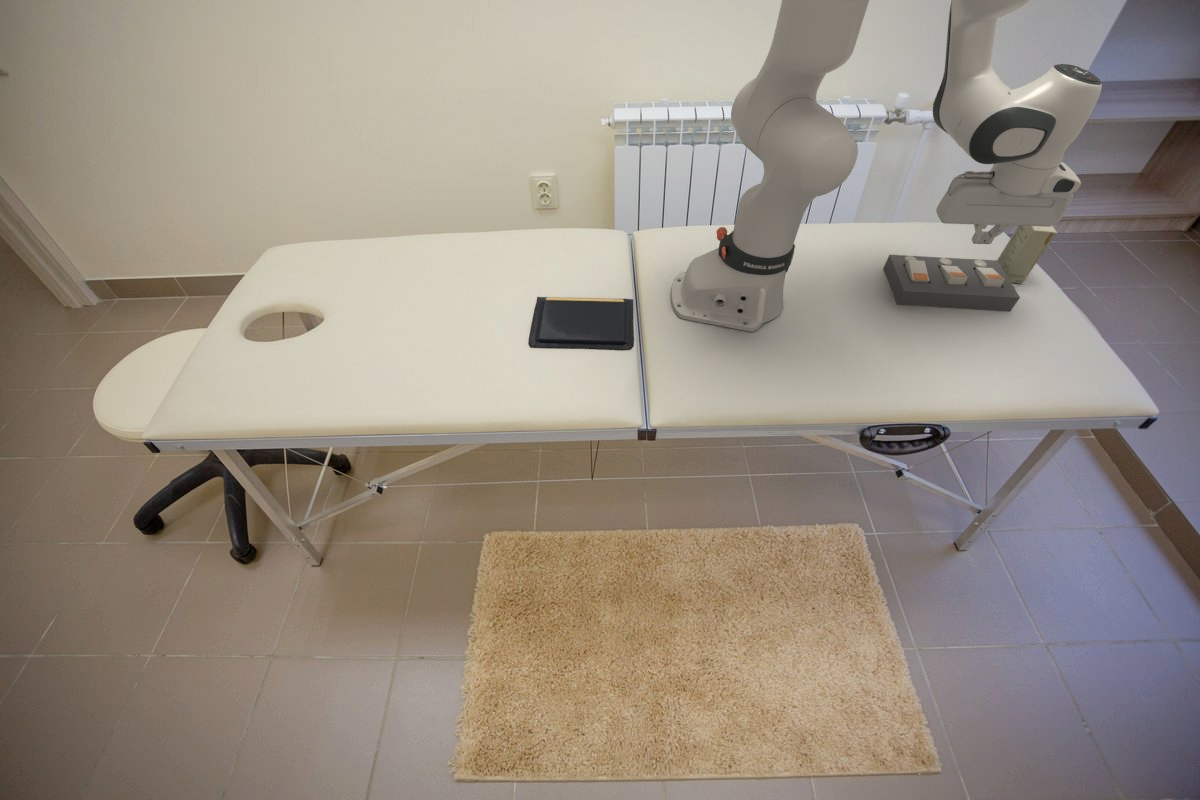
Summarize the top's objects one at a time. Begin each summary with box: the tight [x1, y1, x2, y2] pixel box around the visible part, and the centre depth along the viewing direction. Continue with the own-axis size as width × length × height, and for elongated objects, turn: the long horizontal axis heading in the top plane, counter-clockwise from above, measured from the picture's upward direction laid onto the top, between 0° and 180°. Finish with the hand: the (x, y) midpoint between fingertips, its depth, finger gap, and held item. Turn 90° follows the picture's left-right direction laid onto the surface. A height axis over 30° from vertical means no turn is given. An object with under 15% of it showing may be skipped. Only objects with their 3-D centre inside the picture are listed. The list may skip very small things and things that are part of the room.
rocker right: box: [975, 267, 1004, 287], centre depth 114 cm, size 3×5×2 cm, turn 175°
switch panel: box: [882, 254, 1021, 312], centre depth 116 cm, size 22×12×4 cm, turn 85°
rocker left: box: [905, 260, 929, 283], centre depth 115 cm, size 3×5×2 cm, turn 175°
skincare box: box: [997, 225, 1058, 284], centre depth 116 cm, size 6×4×12 cm
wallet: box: [528, 296, 635, 352], centre depth 110 cm, size 20×2×15 cm
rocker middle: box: [940, 265, 968, 285], centre depth 115 cm, size 3×5×2 cm, turn 175°
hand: (980, 242), depth 107 cm, fingers closed
